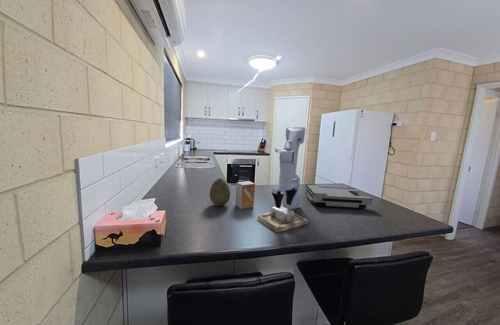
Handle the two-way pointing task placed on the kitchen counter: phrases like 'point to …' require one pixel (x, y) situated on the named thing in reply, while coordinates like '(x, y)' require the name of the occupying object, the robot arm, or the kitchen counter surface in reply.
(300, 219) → the tray
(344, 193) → the game console
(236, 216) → the kitchen counter surface
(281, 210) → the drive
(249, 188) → the small box
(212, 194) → the decorative egg
